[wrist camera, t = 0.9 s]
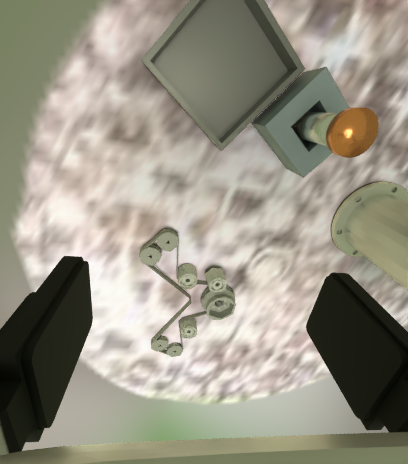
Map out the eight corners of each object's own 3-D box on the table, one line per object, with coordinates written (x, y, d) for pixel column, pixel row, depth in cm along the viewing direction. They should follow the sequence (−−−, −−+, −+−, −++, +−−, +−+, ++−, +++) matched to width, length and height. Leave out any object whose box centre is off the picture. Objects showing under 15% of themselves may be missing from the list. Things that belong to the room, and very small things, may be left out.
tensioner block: (335, 125, 33) (360, 128, 29) (286, 168, 35) (303, 177, 30) (303, 72, 30) (326, 66, 25) (251, 123, 32) (264, 126, 27)
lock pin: (315, 124, 33) (385, 134, 22) (290, 147, 34) (346, 166, 23) (298, 99, 31) (366, 96, 20) (273, 123, 32) (324, 133, 21)
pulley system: (236, 220, 39) (137, 227, 37) (246, 235, 35) (135, 244, 32) (226, 339, 52) (152, 350, 50) (232, 360, 48) (152, 373, 46)
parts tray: (293, 72, 30) (305, 68, 27) (217, 147, 33) (221, 151, 30) (226, -35, 25) (233, -52, 22) (144, 64, 28) (141, 60, 25)
